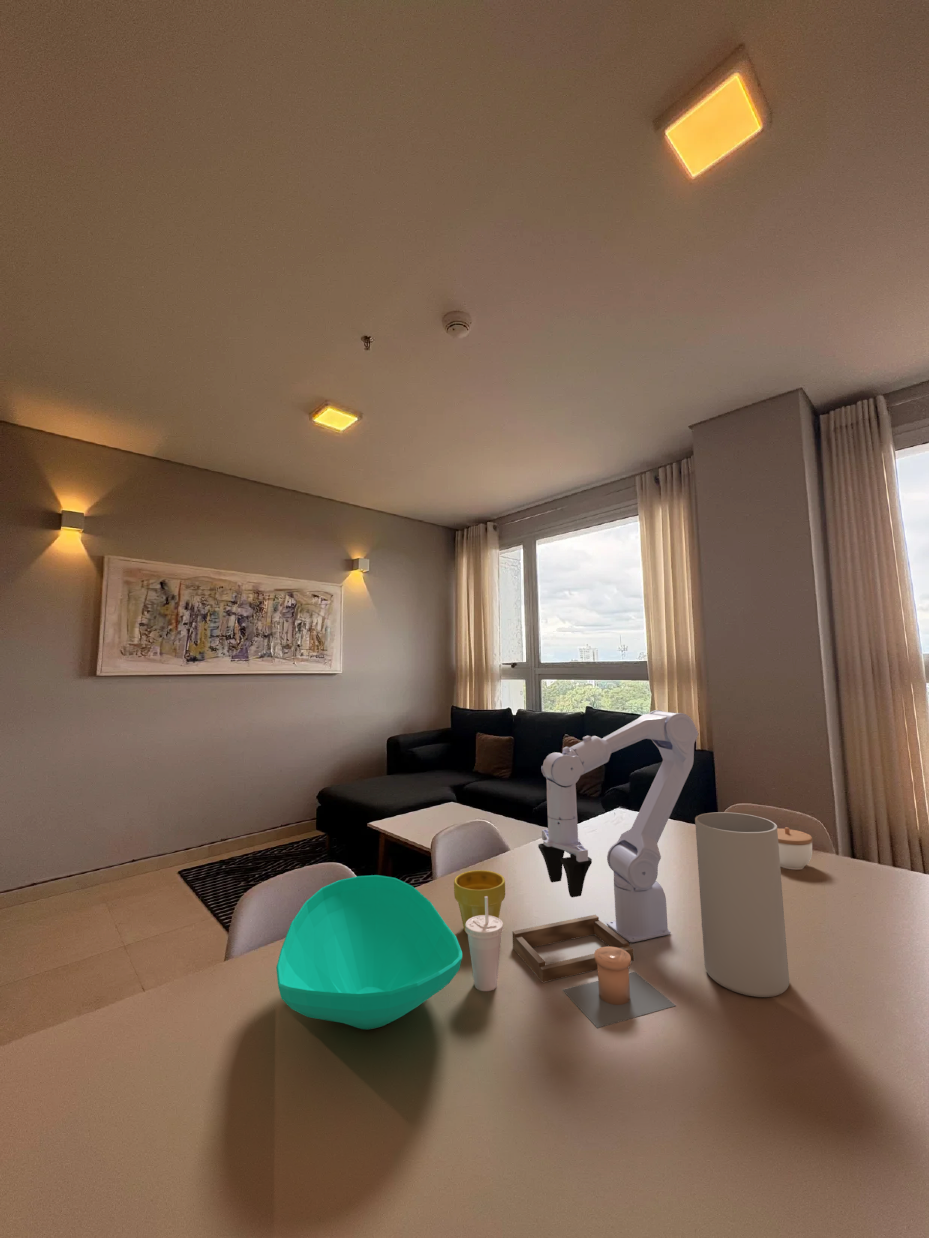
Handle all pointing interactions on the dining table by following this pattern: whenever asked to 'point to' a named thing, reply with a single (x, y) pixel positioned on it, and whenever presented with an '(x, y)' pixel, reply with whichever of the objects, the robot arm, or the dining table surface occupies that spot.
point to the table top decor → (365, 953)
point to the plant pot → (479, 893)
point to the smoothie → (484, 948)
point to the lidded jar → (794, 848)
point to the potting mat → (604, 1014)
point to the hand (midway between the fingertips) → (565, 888)
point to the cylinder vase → (742, 903)
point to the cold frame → (563, 932)
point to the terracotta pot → (613, 974)
